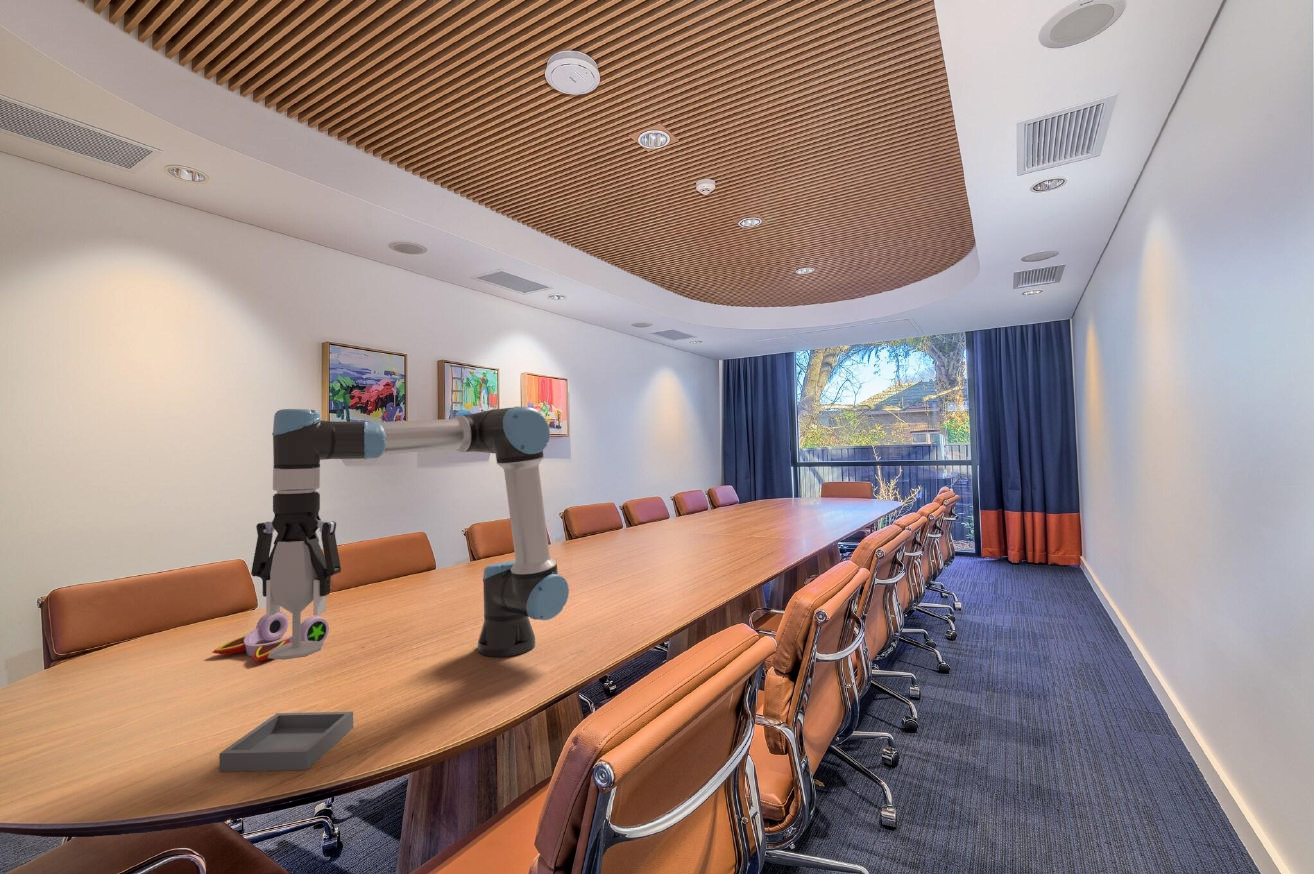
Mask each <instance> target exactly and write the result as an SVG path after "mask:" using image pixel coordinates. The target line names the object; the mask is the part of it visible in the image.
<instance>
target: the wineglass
mask: <svg viewBox="0 0 1314 874" xmlns="http://www.w3.org/2000/svg"><path fill="white" fill-rule="evenodd" d="M309 540H310V539H309ZM283 541H284V540H283ZM317 577H318V576H317V574H316V572H315V569H314V567H313V565H312V562H311V559H310V552H309V548H308V546H307V545H305V543H304V541H297V542H296V541H292V542H280V541H278V543H277V546H276V549H275V552H274V555H273V561H272V566H271V572H270V589H271V592H272V595H273V598H274V602H275V603H276V604H278V605H279V606H280V608H282V609H284V610H286V611H287V612H289V613H291V614H292V615H291V617H292V619H291V620H292V622H291V624H292V629H291V630H292V631H291V633H292V634H291V636H292V643H287V644H284V645H281V646H279V647H276V648H273V649H272V650H271V652H270V653H269V655H268V658H269V659H271V660H272V659H273V660H274V659H275V660H283V661H284V660H285V661H286V660H291V659H298V658H300V659H301V658H306V657H309V656H311V655H313V654H315V653H318V652H320V651H321V650H322V647H323V646H324V642H319V641H301V623H302V619H301V616H302V614H301V613H302V611H304V610H305V609H306V608H307V607H308V606H309V605H310V604H311V603H312V602H313V582H314V580H315V579H316V578H317Z"/></svg>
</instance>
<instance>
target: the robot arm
mask: <svg viewBox="0 0 1314 874" xmlns="http://www.w3.org/2000/svg"><path fill="white" fill-rule="evenodd" d="M272 427H273V428H272V448H273V449H272V450H273V451H272V453H273V454H272V455H273V457H272V458H273V469H272V490H273V491H275V492H276V493H274V494H273V495H272V512H273V514H274V516H273V520H272V521H266V522H265V521H264V522H259V523H257V524H256V525H255V526H256V534H257V539H256V544H255V550H254V556H253V561H252V566H251V572H250V575H251V576H252V577H258V578H260V579H261V580H262V596H263V598H264V597H266V598H265V599H266V600H265V601H266V605H265V607H266V609H265V611H266V612H265V614H266V616H271V615H274V614H276V613H278V612H281V606H279V605H278V604H276V603H275V602H274V598H273V595H272V592H271V589H270V572H271V566H272V561H273V555H274V552H275V549H276V546H277V543H278V541H280V542H292V541H296V542H297V541H304V543H305V545H307V546H308V548H309V552H310V559H311V562H312V565H313V567H314V569H315V572H316V574H317V576H318V577H317V578H316V579H315V580H314V582H313V601H312V602H313V612H312V613H313V616H320V615H321V614H323V613H326V612H327V596H329V595H330V593H331V577H333V576H334V575H337V574H340V573H341V571H342V568H341V567H342V566H341V562H340V556H339V550H338V544H337V539H336V530H337V529H336V528H337V522H336V521H335V520H332V521H325V520H322V519H321V517H320V515H319V513H320V509H321V508H320V507H321V494H320V492H318V491H317V490H319V489H320V486H321V483H320V481H321V479H320V478H321V476H320V475H321V473H320V471H321V464H320V463H321V461H322V460H367V459H369V460H371V459H378V458H381V456H382V455H392V454H393V455H394V454H395V455H397V454H406V453H407V454H408V453H419V452H431V451H433V452H434V451H442V450H443V451H444V450H446V451H447V450H456V451H457V452H459V453H468V452H469V453H470V452H471V453H473V452H474V453H485V454H486V453H487V454H495V460H496V465H498V466H499V467H501V468H502V469H503V473H504V480H505V489H506V494H507V503H508V504H507V505H508V512H509V519H510V528H511V535H512V542H513V543H512V544H513V550H514V557H515V560H509V561H501V562H496V563H492V564H488V565H487V566H485V567H484V569H483V575H482V582H483V583H482V584H483V620H484V621H483V624H482V628H481V630H480V632H479V633H480V634H479V637H478V641H477V652H478V653H479V654H480V655H483V656H486V657H493V658H494V657H496V658H497V657H498V658H504V657H512V656H516V655H521V654H524V653H527V652H529V651H531V650H532V649H533V648H535V646H536V636H535V632H534V629H533V626H532V624H531V621H530V619H532V620H538V621H550V620H552V619H554V618H555V617H557V616H558V615H559V614H560V613H561V612H562V611H563V609H564V607H565V606H566V604H567V602H568V599H569V594H570V589H569V584H568V581H567V579H566V578H564V576H563V575H561V574H560V573H559V572H558V564H557V561H556V560H555V559H554V558H553V557H551V555H550V548H549V540H548V539H549V538H548V534H547V533H548V532H547V531H548V530H547V524H546V523H547V522H546V515H545V507H544V499H543V491H542V484H541V482H542V481H541V476H540V468H539V465H540V464H541V462H542V461H543V460H544V450H545V449H546V447H547V446H548V443H549V441H550V437H551V431H550V425H549V423H548V420H547V419H546V416H544V415H543V414H542V413H541V412H540V411H539V410H537V409H535V408H533V407H530V406H514V407H505V408H495V409H494V408H493V409H489V410H484V411H481V412H474V413H469V414H457V415H455V416H454V417H453V418H446V419H424V420H420V419H419V420H399V421H397V420H396V421H378V422H377V421H373V422H369V421H335V420H334V421H333V420H332V421H329V420H322V418H321V413H320V412H319V411H318V410H316V409H307V408H282V409H278V410H277V411H276V412H275V414H274V416H273V426H272ZM318 529H319V530H318ZM317 530H318V531H319V532H320V534H321V535H320V537H321V542H322V543H321V545H322V547H321V545H320V539H319V537H318V534H317ZM274 531H276V533H277V534H276V536H275V540H274V541H273V537H274V535H273V533H274ZM309 539H310V540H309ZM283 540H284V541H283ZM272 542H273V548H272ZM271 549H272V550H271Z"/></svg>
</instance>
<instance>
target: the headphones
mask: <svg viewBox="0 0 1314 874" xmlns="http://www.w3.org/2000/svg"><path fill="white" fill-rule="evenodd" d="M288 628H289V619H288V616H287V615H286V613H285V612H282V611H280V612H278V613H276V614H274V615H271V616H266V613H265V614H264V615H262V616H261V617H260V619H259V620H258V621H257V623H256V627H255V628H254V629H253V630H251V631H249V632H248V633H247V634H246V635H243V636H240V637H237V638H235V639H233V640H231V641H229V642H226V643H225V644H223V645H220V646H218V647H217V648H216V649H214V650H212V652H211V653H212V654H219V655H229V654H239V653H244V652H246V655H248V656H249V657H253V660H254V661H257V662H258V661H259V662H260V661H264V660H265V661H266V660H268V659H269V660H270V658H268V655H269V653H270V652H271V650H272V649H273V648H276V647H279V646H281V645H284V644H287V643H292V635H291V636H289V637H286V638H283V639H281V638H282V637H283V636H284V635H286V632H287V630H288ZM329 630H330V626H329V623H328V621H327V620H326V619H325V618H323V617H322V616H320V615H313V616H309V617H307V618H306V619H304V620H303V621H301V641H319V642H323V643H324V642H325V640H326V639H327V637H328V635H329ZM279 639H280V640H279ZM261 640H262V641H263V642H266V643H259V642H260V641H261Z"/></svg>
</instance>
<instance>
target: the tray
mask: <svg viewBox="0 0 1314 874" xmlns="http://www.w3.org/2000/svg"><path fill="white" fill-rule="evenodd" d="M353 728H354V711H321V712H320V711H319V712H313V711H312V712H277V713H275V714H274V715H272V716H270V717H269V718H268V719H266V720H264V721H262V722H261V724H259V725H258V726H256V727H255V728H254V729H252V730H250V731H249V732H248V733H247V734H244V735H243V736H242V737H241V738H239V739H237V741H235V742H234V743H232V744H230V745H229V746H227V747H226V748H225V749H223V750H222V751H220V752H219V755H218V756H219V758H218V759H219V760H218V761H219V772H262V771H263V772H265V771H267V772H269V771H272V772H273V771H275V772H276V771H307V770H309V769H310V768H311V767H312V766H314V764H316V763H317V762H318V761H319V760H320V759H321V758H322V757H323V756H324V755H326V753H327V752H329V750H331V749H332V748H333V747H334V746H335V745H336V744H338V742H340V740H341V739H342V738H344V737H345V736H346V735H347V734H348V733H350V731H351V730H352V729H353Z"/></svg>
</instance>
